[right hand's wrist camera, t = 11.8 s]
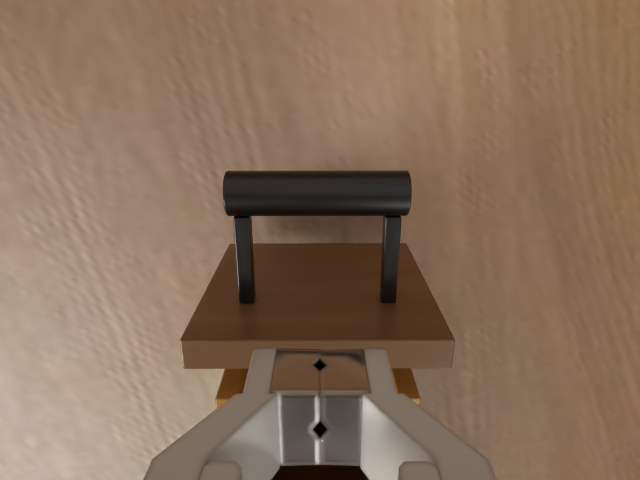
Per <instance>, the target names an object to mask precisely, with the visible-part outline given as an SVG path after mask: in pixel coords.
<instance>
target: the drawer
mask: <svg viewBox="0 0 640 480" xmlns="http://www.w3.org/2000/svg"><path fill="white" fill-rule="evenodd" d="M411 193H412V189H411V178H410V174H409V172H408V171H227V172H226V173H225V176H224V181H223V202H224V208H225V212H226V214H227V215H228V216H234V218H233V222H234V236H235V244H230V245H229V247H228V249H227V251H226V252H225V254H224V256H223V258H222V260H221V262H220V264H219V266H218V268H217V270H216V272H215V274H214V276H213V278H212V279H211V281H210V283H209V285H208V287H207V289H206V291H205V293H204V295H203V297H202V299H201V301H200V303H199V305H198V306H197V308H196V310H195V312H194V314H193V316H192V318H191V320H190V322H189V324H188V326H187V328H186V330H185V332H184V334H183V335H182V337H181V339H180V345H181V353H182V361H183V368H185V369H225V370H224V373H223V376H222V380H221V383H220V386H219V389H218V392H217V395H216V399H215V401H216V409H217V408H219V407H220V406H221V405H222V404H224V403H225V402H226V401H227V400H229V399H230V398H231V397H233V396H234V395H235V394H242V393H243V390H244V386H245V382H246V378H247V374H248V370H249V366H250V361H251V357H252V353H253V351H254V349H255V348H276V349H277V348H287V349H320V350H337V349H367V348H385V349H386V350H387V354H388V358H389V362H390V366H391V370H392V374H393V378H394V382H395V386H396V391H397V393H398V394H405V395H406V396H407V397H409V398H410V399H411V400H413V401H414V402H415V403H416V404H418V405H419V406H420V396H419V393H418V389H417V386H416V383H415V380H414V376H413V373H412V370H411V368H451V367H452V360H453V351H454V343H455V339H454V337H453V335H452V333H451V331H450V329H449V327H448V325H447V323H446V321H445V319H444V317H443V315H442V313H441V311H440V309H439V307H438V305H437V303H436V301H435V299H434V297H433V296H432V294H431V292H430V290H429V288H428V286H427V284H426V282H425V280H424V278H423V276H422V274H421V272H420V270H419V268H418V266H417V264H416V262H415V260H414V258H413V256H412V254H411V252H410V250H409V248H408V246H407V244H406V243H401V244H400V233H401V216H406V215H408V213H409V210H410V206H411ZM251 216H383V236H382V244H253V237H252V219H251ZM271 480H369V479H368V477H367V476H366V475H365V473H364V472H363V471H362V469H361V468H360V466H349V465H290V466H280V468H279V470H278V471H277V472H276V474H275V475H274V476H273V478H272V479H271Z"/></svg>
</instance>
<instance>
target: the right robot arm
mask: <svg viewBox="0 0 640 480" xmlns="http://www.w3.org/2000/svg"><path fill="white" fill-rule="evenodd" d="M290 465H349V466H360V468H361V469H362V471H363V472H364V473H365V475H366V476H367V477H368V479H369V480H497V479H496V477H495V475H494V472H493V470H492V468H491V465H490V463H489V461H488V459H486V458H485V457H484V456H482V455H481V454H480V453H479V452H477V451H476V450H475V449H474V448H472V447H471V446H470V445H468V444H467V443H466V442H465V441H463V440H462V439H461V438H460V437H458V436H457V435H456V434H454V433H453V432H452V431H451V430H449V429H448V428H447V427H446V426H444V425H443V424H442V423H440V422H439V421H438V420H437V419H435V418H434V417H433V416H432V415H430V414H429V413H428V412H426V411H425V410H424V409H423V408H421V407H420V406H419V405H418V404H416V403H415V402H414V401H413V400H411V399H410V398H409V397H407V396H406V395H405V394H398V393H397V391H396V386H395V382H394V378H393V374H392V370H391V366H390V362H389V358H388V354H387V350H386V349H385V348H367V349H337V350H320V349H287V348H277V349H276V348H255V349H254V351H253V353H252V357H251V361H250V366H249V370H248V374H247V378H246V382H245V386H244V390H243V393H242V394H235V395H234V396H233V397H231V398H230V399H229V400H227V401H226V402H225V403H224V404H222V405H221V406H220V407H219V408H217V409H216V410H215V411H213V412H212V413H211V414H210V415H208V416H207V417H206V418H204V419H203V420H202V421H201V422H199V423H198V424H197V425H196V426H194V427H193V428H192V429H190V430H189V431H188V432H187V433H185V434H184V435H183V436H181V437H180V438H179V439H178V440H176V441H175V442H174V443H173V444H171V445H170V446H169V447H167V448H166V449H165V450H164V451H162V452H161V453H160V454H158V455H157V456H156V457H155V458H153V459H152V461H151V464H150V466H149V468H148V471H147V473H146V475H145V477H144V480H271V479H272V478H273V476H274V475H275V474H276V472H277V471H278V470H279V468H280V466H290Z"/></svg>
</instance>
